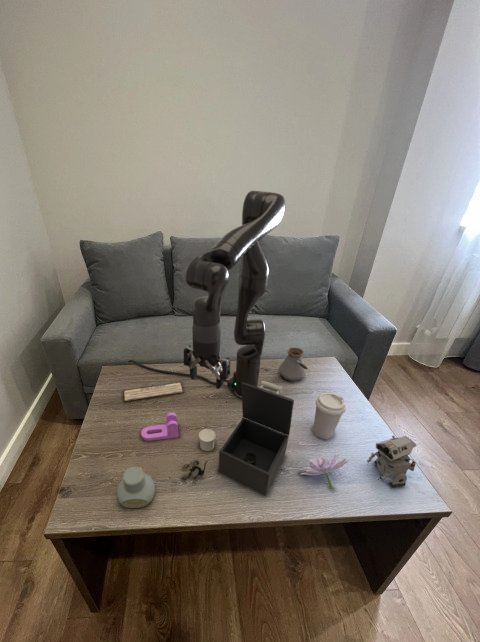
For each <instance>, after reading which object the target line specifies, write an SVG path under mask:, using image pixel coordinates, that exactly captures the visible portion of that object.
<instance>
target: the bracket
mask: <svg viewBox="0 0 480 642" xmlns="http://www.w3.org/2000/svg"><path fill="white" fill-rule="evenodd" d="M165 420H166V423H164V424H158V425H157V424H156V425H149V426H145V427H144V428H142V429H141V432H140V435H141V439H143V440H144V441H146V442H151V441H159V440H167V439H174V438H180V434H179V424H178V418H177V413H175V412H173V411H171V412H168V413H167V414H166V415H165Z"/></svg>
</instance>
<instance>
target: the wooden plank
mask: <svg viewBox="0 0 480 642" xmlns="http://www.w3.org/2000/svg"><path fill="white" fill-rule="evenodd" d="M123 393H124V394H123V395H124V401H125V402H128V401H129V402H130V401H135V400H140V399H141V400H142V399H148V398H155V397H160V396H161V397H162V396H167V395H174V394H181V393H183V387H182V383H181V382H175V383H168V384H162V385H155V386H148V387H142V388H134V389H128V390H124V392H123Z"/></svg>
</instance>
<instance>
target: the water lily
mask: <svg viewBox="0 0 480 642" xmlns="http://www.w3.org/2000/svg"><path fill="white" fill-rule="evenodd" d="M339 458H340V455H339V454H337V455H336V454H335V455H333V456H332V457H331V459H330V460H329V462H328V460H326V459H324V457H322V456H318V459H317V458H309V461H310V462H309V465H310V466H307V467H304V472H301V473H300V475H304V476H319V475H324V474H325V476H326V478H327V479H326V480H327V482H328V485H329V488H330V489H333V485H332V481H331V478H330V476H329V473H331V472H334V471H336V470H339V469H340V468H342V467H343V466H344V465H346V464H347V463H348V462H349V461H350V459H347V458H344V459H342V460H340V461H338V460H339ZM311 466H312V467H311Z"/></svg>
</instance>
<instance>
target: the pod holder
mask: <svg viewBox="0 0 480 642" xmlns="http://www.w3.org/2000/svg"><path fill="white" fill-rule="evenodd" d="M256 459H257V458H256V455H255V454H253V453H247V454H246V455H245V458H244V461H246V462H248V463H250V464H252V465H254V466H256Z"/></svg>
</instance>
